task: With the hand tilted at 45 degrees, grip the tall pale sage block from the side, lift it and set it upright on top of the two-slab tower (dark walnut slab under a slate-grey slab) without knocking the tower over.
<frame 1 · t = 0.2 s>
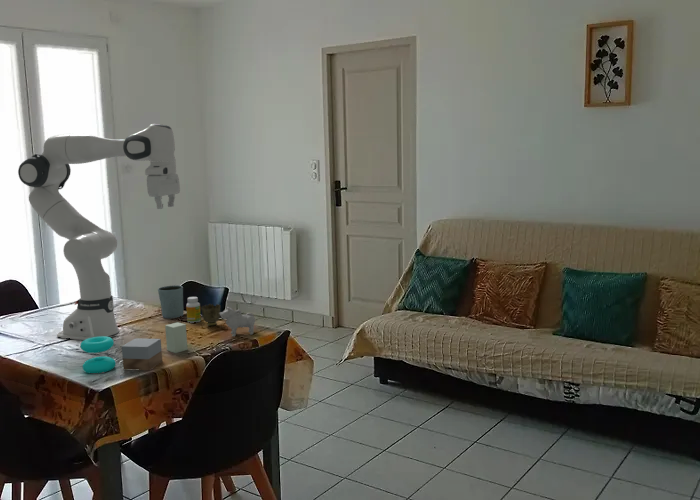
hand: (165, 207, 253), 48 cm above the table, tool pointing down, fingers open, 8 cm apart
supplement bottle: (194, 321, 281), on the table
sage block: (177, 350, 242), on the table
tower top slab: (142, 354, 226), point 4 cm above the table, touching tower bottom slab
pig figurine: (239, 334, 259), on the table
grey-blue plant pot: (172, 316, 291), on the table
donuts: (99, 370, 223), on the table
tower bottom slab: (143, 366, 226), on the table, touching tower top slab
cup: (212, 326, 273), on the table
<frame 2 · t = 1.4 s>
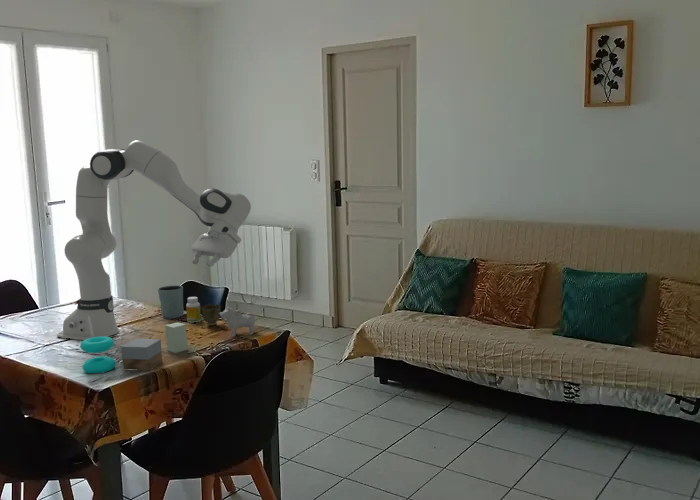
hand: (201, 264, 246), 28 cm above the table, tool tilted 45°, fingers open, 8 cm apart
nothing on the table moved.
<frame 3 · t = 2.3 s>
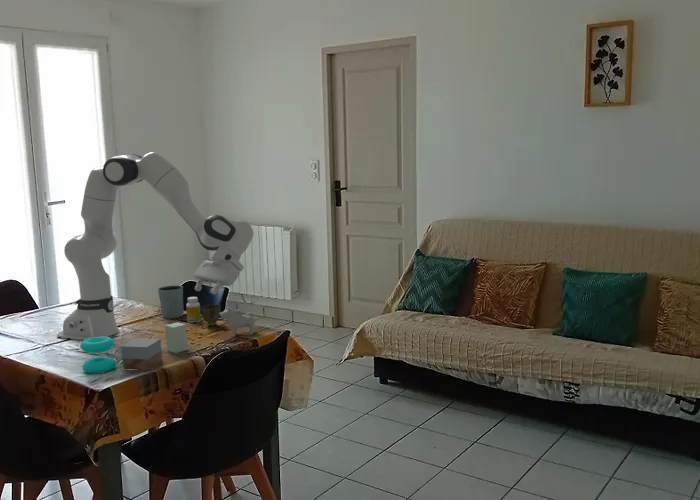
hand: (204, 291, 248), 18 cm above the table, tool tilted 45°, fingers open, 8 cm apart
nothing on the table moved.
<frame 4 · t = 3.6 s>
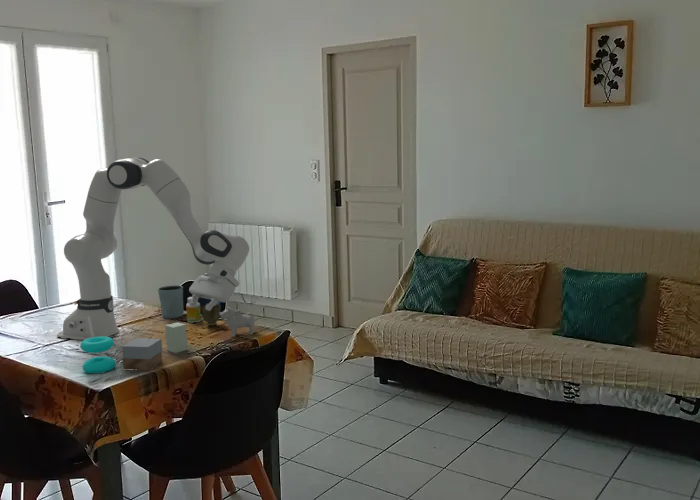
hand: (199, 307, 247), 13 cm above the table, tool tilted 45°, fingers open, 8 cm apart
nothing on the table moved.
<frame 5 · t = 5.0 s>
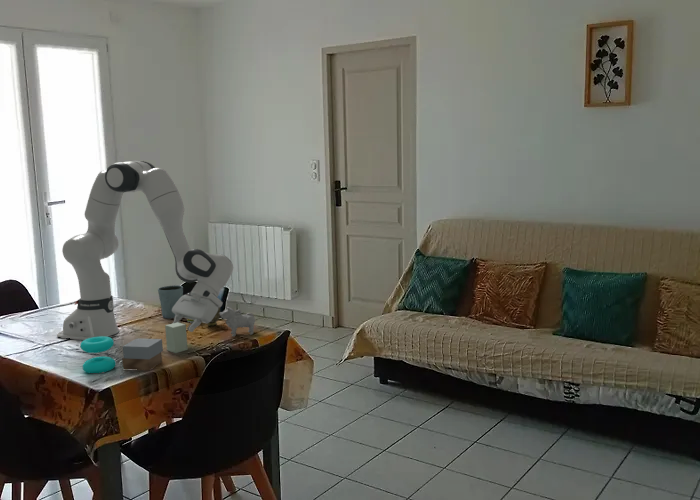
hand: (181, 328, 242), 7 cm above the table, tool tilted 45°, fingers open, 8 cm apart
nothing on the table moved.
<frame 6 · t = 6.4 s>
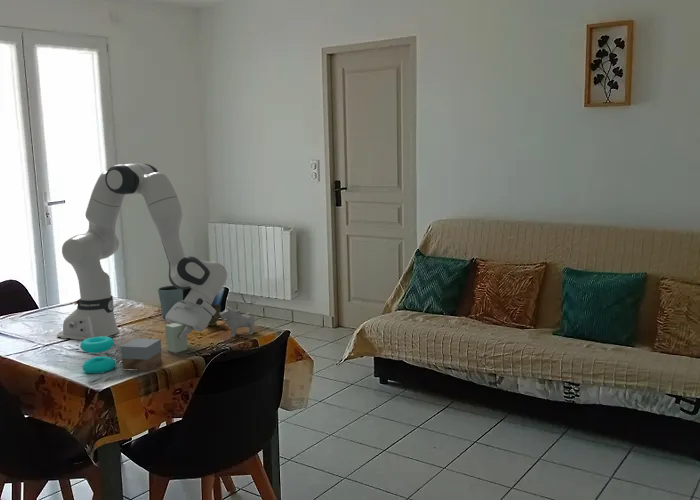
hand: (174, 336, 241), 5 cm above the table, tool tilted 45°, fingers closed on sage block, 5 cm apart
sage block: (177, 350, 242), on the table, touching gripper
everything else where it was.
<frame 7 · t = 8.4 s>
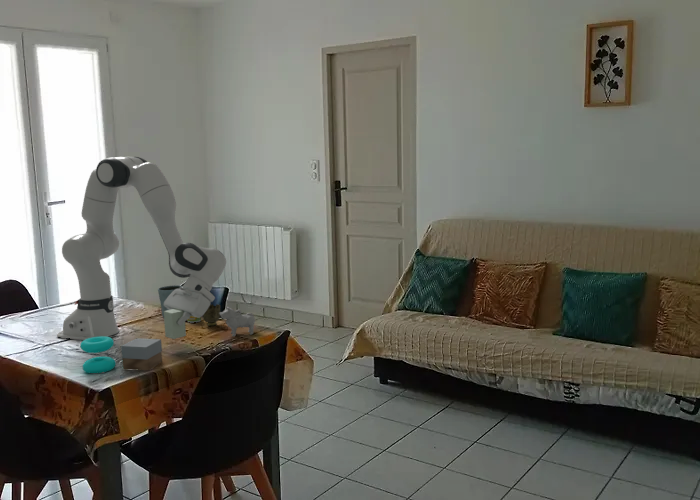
hand: (173, 322, 240), 10 cm above the table, tool tilted 45°, fingers closed on sage block, 5 cm apart
sage block: (175, 336, 241), point 5 cm above the table, touching gripper
everything else where it was.
when the fingers open (15 cm above the table, at t = 16.5 s): sage block drops 2 cm, resting on tower top slab.
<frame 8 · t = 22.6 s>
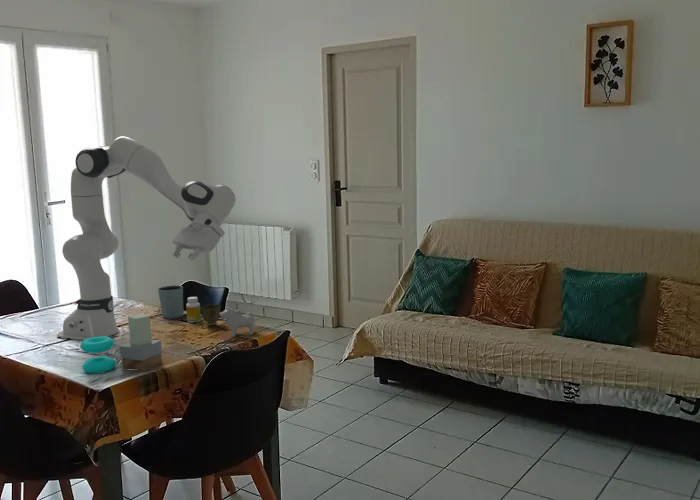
hand: (182, 258, 235), 32 cm above the table, tool tilted 45°, fingers open, 8 cm apart
sage block: (141, 343, 225), point 7 cm above the table, touching tower top slab
tower top slab: (141, 355, 225), point 3 cm above the table, touching sage block, tower bottom slab
everything else where it was.
at the end: sage block 0.1 cm off-centre on the tower bottom slab, point 8.0 cm above the tower bottom slab's base; sage block tilted 0°; tower top slab 0.1 cm off-centre on the tower bottom slab, point 4.0 cm above the tower bottom slab's base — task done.
